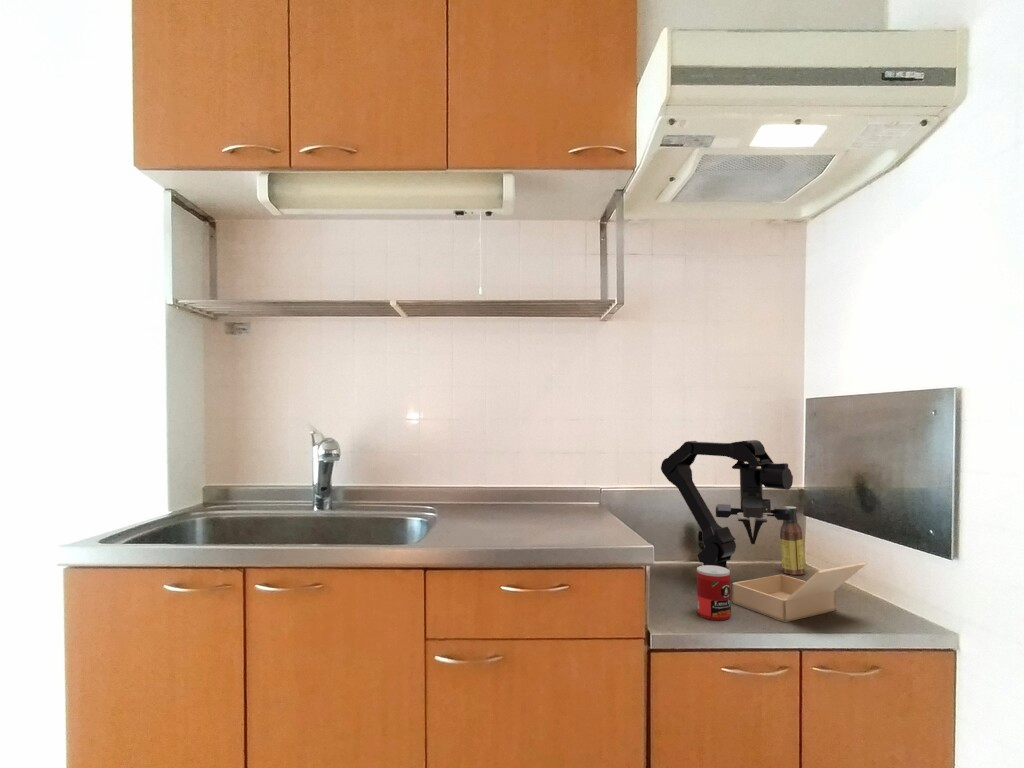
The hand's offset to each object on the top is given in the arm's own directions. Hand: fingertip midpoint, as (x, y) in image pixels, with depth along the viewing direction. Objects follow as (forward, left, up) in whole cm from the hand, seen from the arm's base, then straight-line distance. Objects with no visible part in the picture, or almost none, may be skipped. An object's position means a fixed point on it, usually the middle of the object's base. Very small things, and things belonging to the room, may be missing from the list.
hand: (752, 544), depth 163 cm
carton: (+6, -10, -13) cm, 18 cm away
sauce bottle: (+12, +24, -13) cm, 30 cm away
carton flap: (+15, -19, -3) cm, 24 cm away
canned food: (-10, -22, -13) cm, 28 cm away
